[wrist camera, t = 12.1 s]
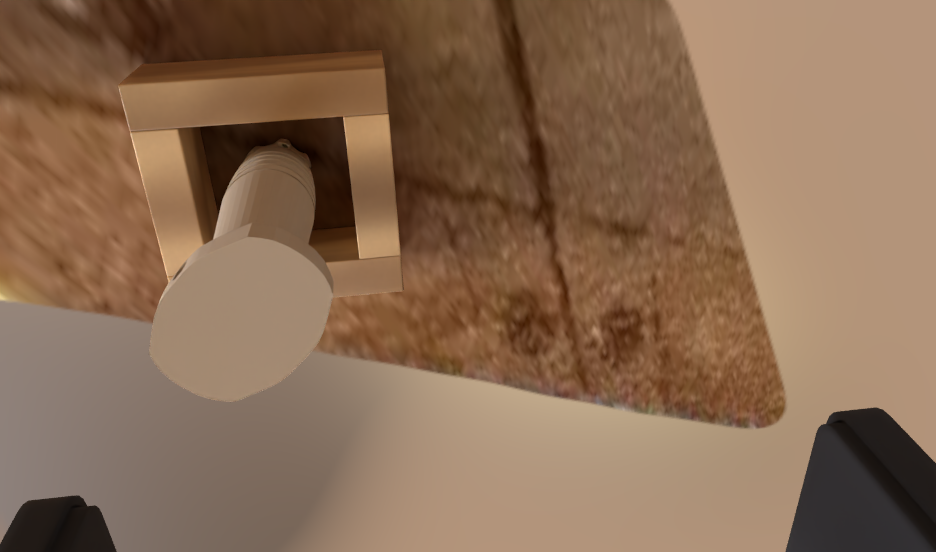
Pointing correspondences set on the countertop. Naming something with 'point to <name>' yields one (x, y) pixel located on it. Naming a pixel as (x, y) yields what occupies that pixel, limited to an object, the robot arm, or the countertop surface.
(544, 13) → the countertop surface
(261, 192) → the handle
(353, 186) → the socket block
